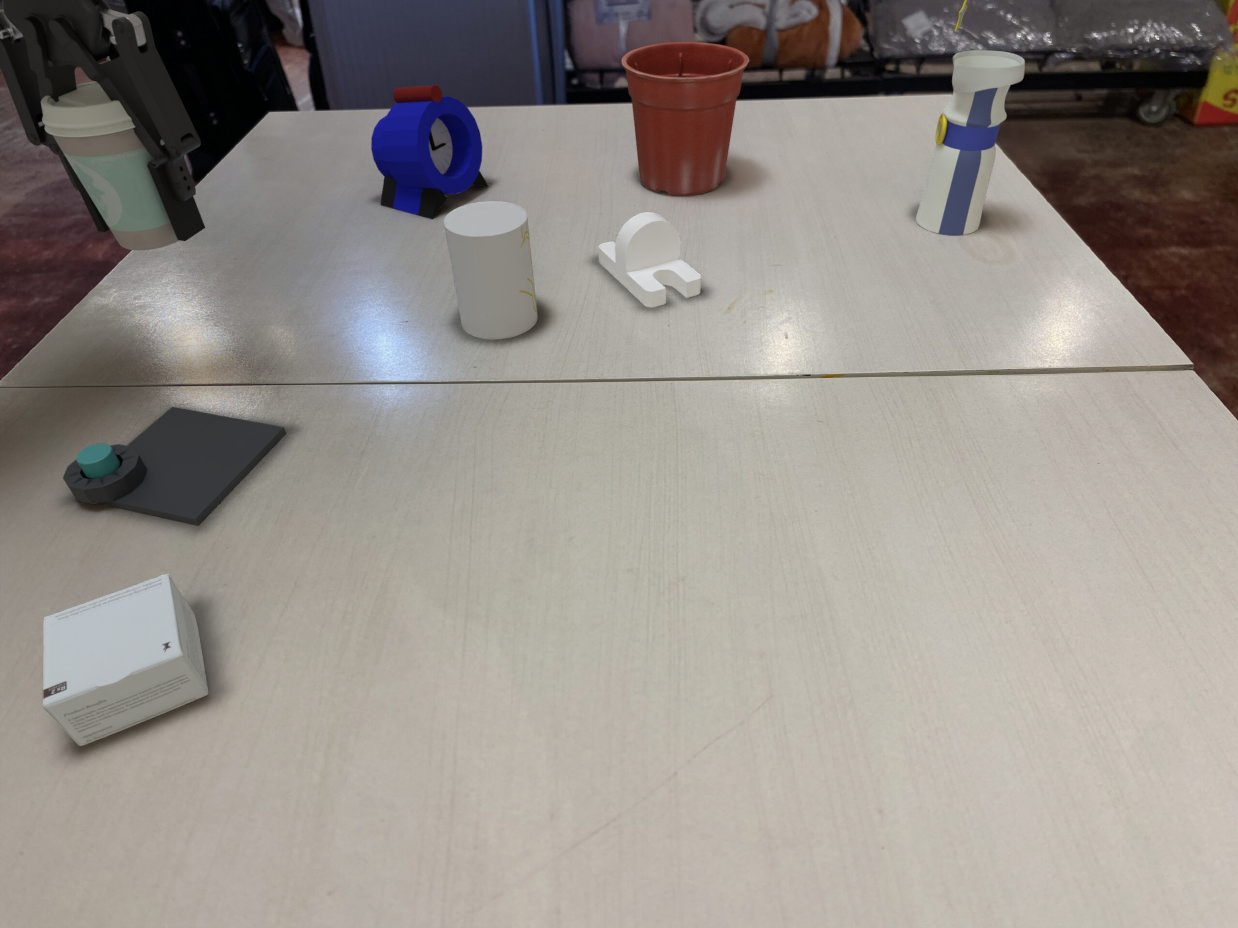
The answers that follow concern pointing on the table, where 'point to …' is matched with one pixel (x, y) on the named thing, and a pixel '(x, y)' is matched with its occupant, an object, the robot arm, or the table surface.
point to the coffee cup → (110, 164)
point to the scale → (179, 465)
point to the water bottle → (967, 140)
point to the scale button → (98, 460)
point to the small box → (121, 660)
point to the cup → (492, 268)
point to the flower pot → (683, 112)
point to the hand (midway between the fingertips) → (151, 229)
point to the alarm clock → (426, 150)
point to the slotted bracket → (649, 260)
